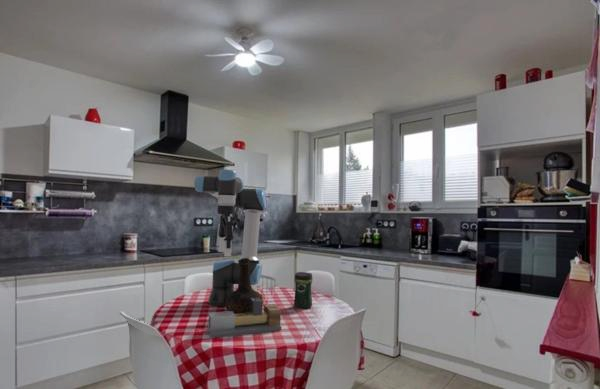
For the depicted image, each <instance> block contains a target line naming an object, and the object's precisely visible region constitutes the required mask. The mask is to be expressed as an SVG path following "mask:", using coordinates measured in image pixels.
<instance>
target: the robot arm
mask: <svg viewBox="0 0 600 389" xmlns="http://www.w3.org/2000/svg"><path fill="white" fill-rule="evenodd" d="M193 184H194V185H193V187H194V189H195V191H196V192H199V193H207V194H209V195H211V196H213V197H215V198H216V200H217V204H218V205H217V210H216V212H217V214H218V215H220V216H219V217H220V218H219V226H218V227H219V228H218V233H217V234H218V237H219V238H218V253H224V255H223V256H224V257H232V245H233V244H232V241H233V240H234V232H233V217H232V216H231V215H235V214H236V209H241V210H242V212H243V213H244V223H243V235H242V246H241V256H240V257H239V258H238V261H237V262H236V261H235V259H223V260H218V261H215V262H214V263H213V268H212V284H211V285H212V288H211V291H210V294H209V297H208V301H207V302H208V305H210V306H212V307H213V306H215V307H226V299H227V297H228V296H229V294H230V293H232V292H234V291H235V288H234V286H235V285H238V284H239V277H240V265H241V264H239V262H241V259H242V258H248V259H250V260H249V261H250V262H251V263H249V272H250V282H251V286H257V285H258V284H259V282H260V280H261V276H262V271H263V264H262V263H260V259H259V258H258V247H259V235H260V220H261V215H262V214H263V213H264V211H265V210H267V205H268V204H267V195H266V192H265V191H264V189H260V188H244V187H245V184H244V181H243V180H242V179H241V177H238V176H237V171H236V170H234V169H220V170H219V173H218V176H217V175H216V176H215V175H214V176H213V175H212V176H211V175H199V176H198V175H197V176H196V177H195V179H194V183H193Z"/></svg>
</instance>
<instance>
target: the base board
mask: <svg viewBox="0 0 600 389" xmlns="http://www.w3.org/2000/svg"><path fill="white" fill-rule="evenodd" d="M208 326H209V324H207V326H206V327H207V328H208V329H207V330H208V333H210V334H209V336H210V339H216V338H215V337H219V338H225V336H227V337H235V336H242V335H250V334H252V335H253V334H261V333H269V332H276V331H282V325H280V326H272V327H269V326H268V324H267V323H256V324H247V325H238V326H235V329H233V330H224V331H215V332H210V330H209V327H208Z"/></svg>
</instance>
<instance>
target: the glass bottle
mask: <svg viewBox="0 0 600 389" xmlns="http://www.w3.org/2000/svg"><path fill="white" fill-rule="evenodd" d="M249 260H250V259H248V258H242V259H241V262H239V264H241V265H240V277H239V284H237V285H238V286H237V288H236V290H234V292H232V293H230V294H229V296H228V297H227V299H226V306H225V308H226V311H233V313H234V314H240V313H250V298H260V299H261V300H262V301H263V302H264V300H263V296H262V294H260V293H259V292H258V291H256V290H255V289H254V288H253V287H252V285H251V282H250V272H249V263H251V262H250V261H249Z"/></svg>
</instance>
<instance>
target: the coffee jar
mask: <svg viewBox="0 0 600 389" xmlns="http://www.w3.org/2000/svg"><path fill="white" fill-rule="evenodd" d="M312 283H313V275H312V273H311V272H304V271H297V272H296V273H295V275H294V284H295V290H294V298H293V300H294V302H293V305H294V307H295V308H298V309H310V308H312V306H313V296H312Z"/></svg>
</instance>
